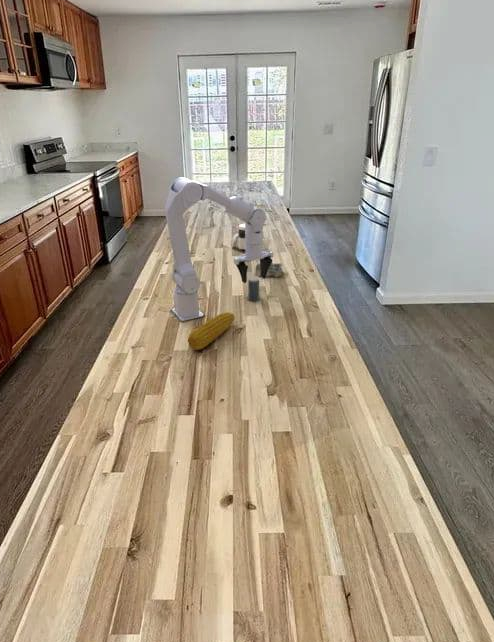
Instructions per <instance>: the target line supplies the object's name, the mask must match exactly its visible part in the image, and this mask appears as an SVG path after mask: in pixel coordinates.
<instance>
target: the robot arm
mask: <svg viewBox="0 0 494 642" xmlns="http://www.w3.org/2000/svg"><path fill="white" fill-rule="evenodd" d="M168 190H169V191H168V192H169V193H168V195H167V200H166V203H165V206H164V215H165V219H166V225H167V229H168V235H169V241H170V245H171V249H172V255H173V260H174V264H173V265H172V267H173V268H172V269H173V272H172V276H171V277H172V281H173V283H175V284H176V286H175V288H174V289H173V293H172V294H173V295H172V296H173V307H174V308H172V309H171V311H172V312H173V314H174V315H175V316H176V317H177V318H178V319H179V321H181V322H185V321H189V320H193V319H197V318H202V317H204V313H203V312H202V311H201V310H200V301H199V289H200V287H201V280H200V278H199V277H198V276H197V272H196V270H195V267H194V265H193V263H192V258H191V253H190V247H189V240H188V235H187V230H186V224H185V218H184V214H185V213H186V212H187V211H188V210H189V209H190V208H192V207H193V206H195V205H196V204H197V203H199V202H200V201H203V202H204V201H205V200H206V201H207V200H210V201H211V202H214V203H216V204H218V205H220V206H222V207H224V208H225V211H226V213H227V214H229V215H231V216H232V217H235V218H237V219H239V220H240V221H243V223H245V252H244V254H241V255H238V256H236V257H233V263H234V265H235V266H236V268H237V270H238V272H239V274H240V275H239V276H240V279H241V282H243V283H244V284H246V283H248V279H247V278H248V277H247V274H248V269H249V265H247V263H248V262H254V261H259V263H260V265H261V276H260V278H262V279H264V280H265V279H266V278H267V276H266V274H267V271H268V269H269V267H270V265H271V263H273V258H274V251H272V250H263V229H264V224H265V223H266V220H267V216H266V214H265V212H264V210H263V209H262V208H259V207H257V206H255V204H254V203H252V202H247V201H246V200H244V197H242V196H241V195H237V196H231V197H228V196H227V195H225V194H223V193H222V192H220V191H218V190H217V189H214V188H212V187H211V186H209V185H207V184H204V183H201V182H198V181H195V180H193V179H192V180H191V179H188V178H187V177H178V178H176V179H175V180H174V181H173V182H172V183H171V184H170V186H169V189H168Z"/></svg>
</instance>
